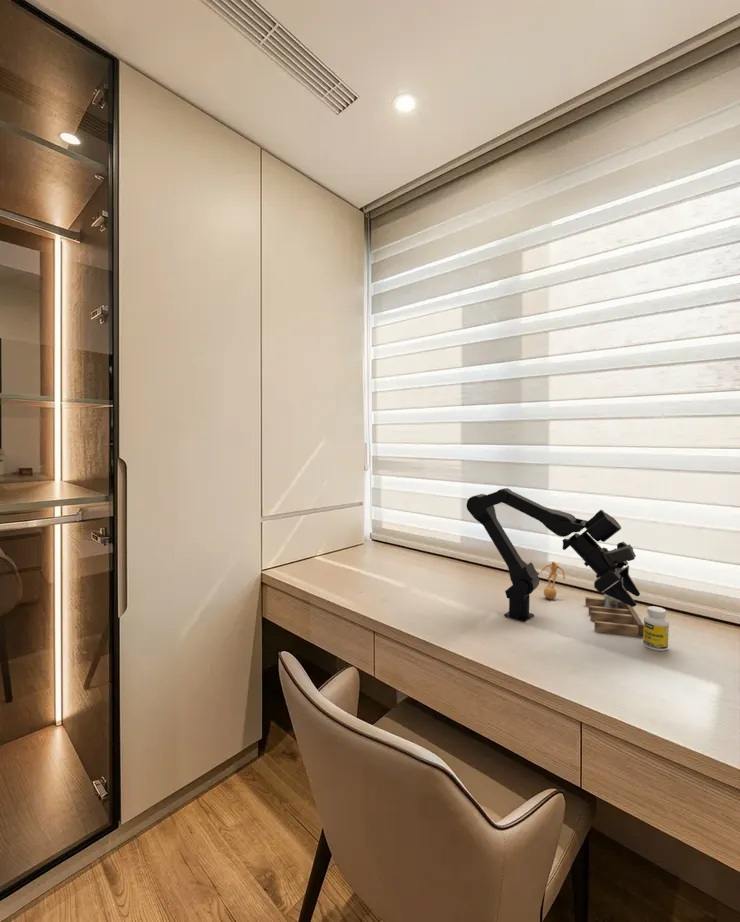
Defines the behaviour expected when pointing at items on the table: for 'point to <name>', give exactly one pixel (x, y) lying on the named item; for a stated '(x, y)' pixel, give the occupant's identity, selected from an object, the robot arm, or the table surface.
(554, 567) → the figurine
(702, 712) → the table surface
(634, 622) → the wooden rack
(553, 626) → the table surface
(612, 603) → the grey can
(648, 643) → the supplement bottle
